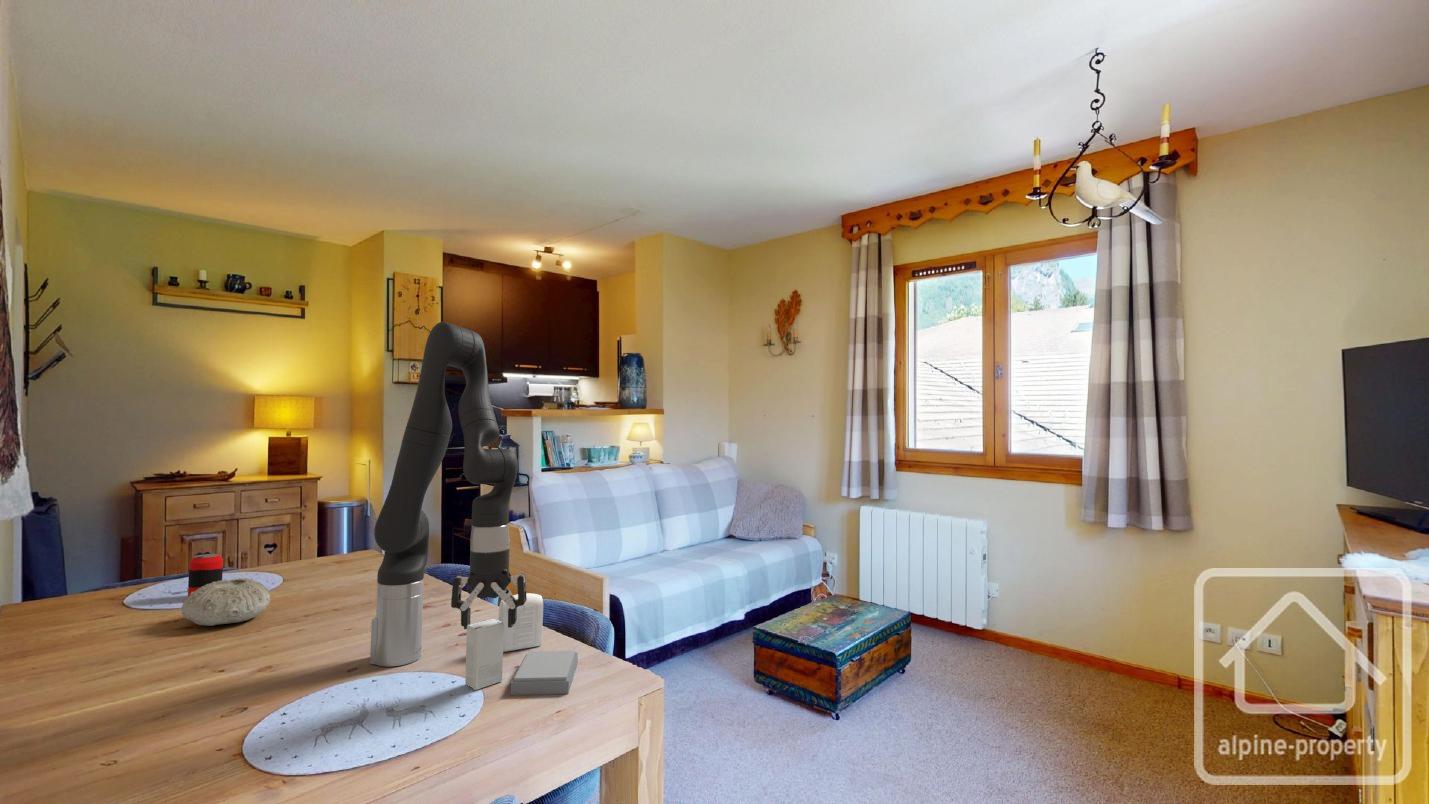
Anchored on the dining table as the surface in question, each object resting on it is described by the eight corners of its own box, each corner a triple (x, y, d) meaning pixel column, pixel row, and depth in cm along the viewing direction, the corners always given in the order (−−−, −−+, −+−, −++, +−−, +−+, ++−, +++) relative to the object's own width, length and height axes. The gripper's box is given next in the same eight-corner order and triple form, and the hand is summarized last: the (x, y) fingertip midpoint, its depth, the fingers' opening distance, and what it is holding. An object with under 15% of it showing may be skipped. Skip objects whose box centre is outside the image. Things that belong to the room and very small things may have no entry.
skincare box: (491, 676, 127) (493, 617, 127) (503, 682, 124) (505, 621, 124) (463, 685, 122) (465, 624, 123) (474, 692, 119) (477, 629, 120)
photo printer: (538, 640, 148) (540, 589, 148) (544, 646, 144) (546, 593, 145) (494, 648, 142) (496, 594, 143) (499, 654, 139) (501, 599, 139)
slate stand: (510, 695, 118) (511, 679, 118) (526, 664, 133) (526, 650, 133) (568, 693, 119) (568, 678, 120) (577, 663, 134) (577, 649, 134)
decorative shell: (268, 625, 155) (269, 585, 155) (175, 638, 145) (177, 595, 145) (270, 607, 169) (272, 570, 170) (186, 617, 159) (188, 578, 160)
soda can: (180, 600, 174) (182, 557, 174) (206, 593, 181) (208, 552, 182) (202, 602, 173) (204, 559, 173) (228, 594, 180) (230, 553, 180)
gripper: (447, 551, 120) (446, 635, 119) (522, 550, 122) (521, 632, 121) (458, 544, 127) (457, 622, 127) (529, 542, 129) (528, 619, 129)
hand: (489, 627), depth 124 cm, fingers open, 8 cm apart
